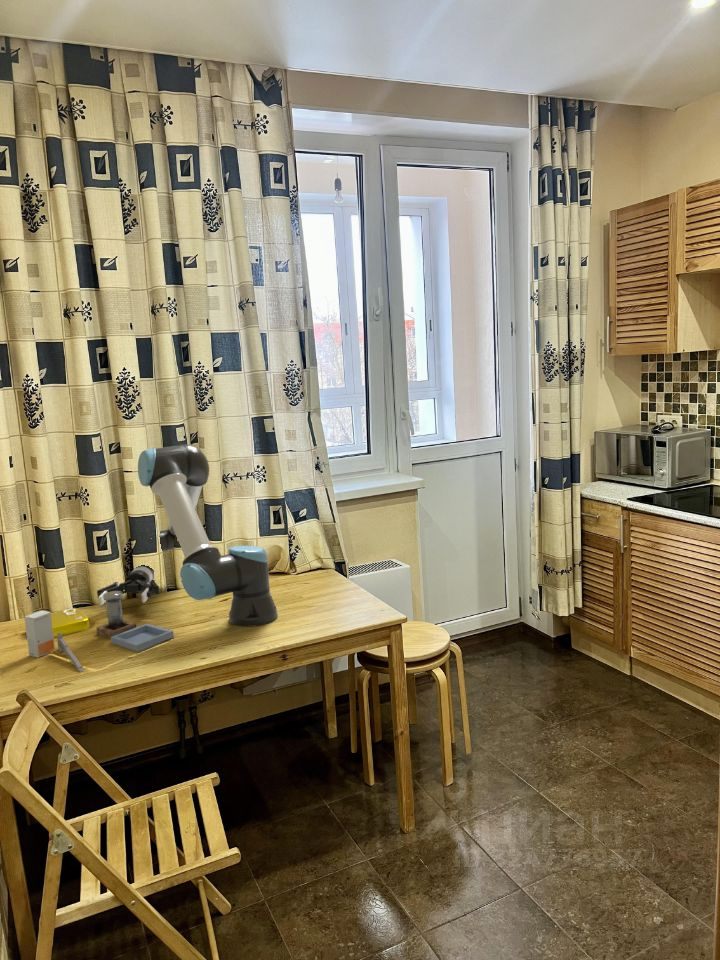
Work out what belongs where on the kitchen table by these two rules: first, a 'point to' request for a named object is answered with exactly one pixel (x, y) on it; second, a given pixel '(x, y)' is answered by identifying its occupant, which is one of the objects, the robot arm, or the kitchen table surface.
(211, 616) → the kitchen table surface
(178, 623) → the kitchen table surface
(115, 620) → the blue-grey cylinder
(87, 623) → the element tile
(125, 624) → the socket block
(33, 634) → the skincare box
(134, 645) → the tray
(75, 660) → the caliper
